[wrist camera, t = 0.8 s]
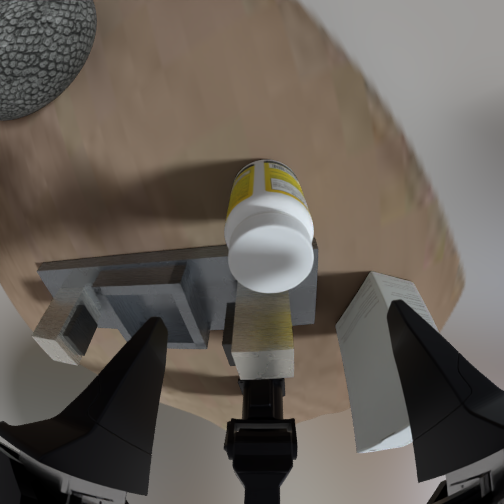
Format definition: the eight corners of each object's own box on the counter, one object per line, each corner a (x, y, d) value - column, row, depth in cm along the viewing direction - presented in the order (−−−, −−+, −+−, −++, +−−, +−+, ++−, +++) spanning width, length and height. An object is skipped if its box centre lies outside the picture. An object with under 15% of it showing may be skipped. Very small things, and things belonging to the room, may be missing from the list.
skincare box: (374, 329, 29) (405, 447, 17) (331, 323, 28) (353, 456, 16) (414, 276, 24) (472, 407, 12) (369, 265, 23) (424, 421, 11)
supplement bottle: (240, 222, 21) (231, 304, 14) (225, 165, 18) (204, 227, 11) (302, 212, 20) (323, 292, 14) (294, 153, 18) (319, 209, 11)
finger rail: (312, 312, 27) (323, 387, 20) (77, 317, 29) (52, 369, 23) (315, 237, 22) (337, 320, 15) (43, 262, 24) (5, 316, 17)
